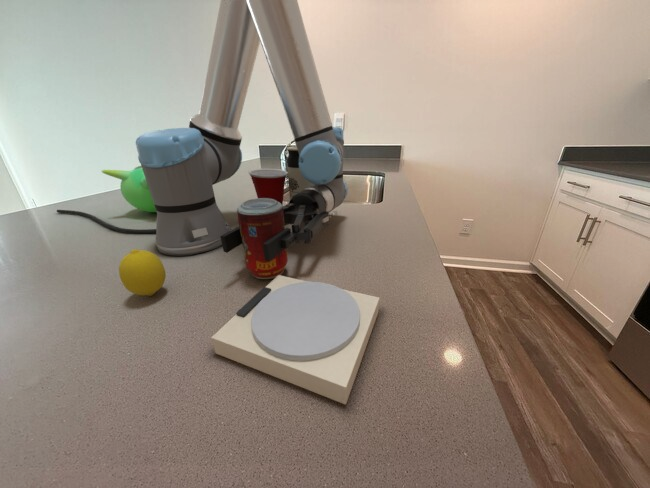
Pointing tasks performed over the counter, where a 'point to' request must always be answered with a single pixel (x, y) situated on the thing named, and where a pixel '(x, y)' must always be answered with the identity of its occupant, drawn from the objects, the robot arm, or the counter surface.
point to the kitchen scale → (302, 334)
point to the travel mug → (295, 173)
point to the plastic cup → (269, 183)
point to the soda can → (261, 235)
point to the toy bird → (134, 188)
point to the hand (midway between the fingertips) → (244, 248)
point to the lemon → (142, 272)
